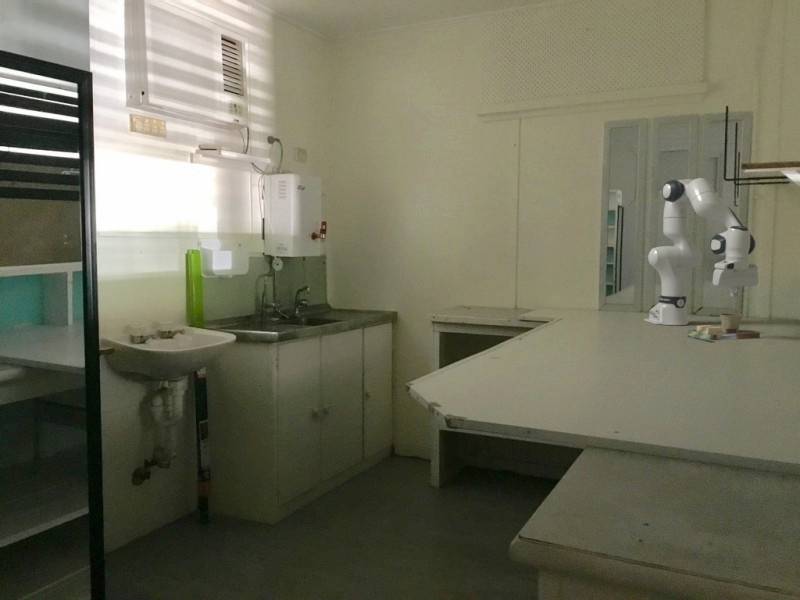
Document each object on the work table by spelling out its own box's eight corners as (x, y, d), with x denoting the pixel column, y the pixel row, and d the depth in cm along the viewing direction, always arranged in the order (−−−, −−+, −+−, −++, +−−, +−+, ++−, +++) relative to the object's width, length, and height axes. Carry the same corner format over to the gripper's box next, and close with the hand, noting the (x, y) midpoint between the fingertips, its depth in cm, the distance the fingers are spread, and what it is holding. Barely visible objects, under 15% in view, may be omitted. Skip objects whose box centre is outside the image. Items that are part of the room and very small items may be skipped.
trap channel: (687, 337, 271) (688, 330, 271) (734, 335, 276) (735, 328, 276) (710, 342, 258) (710, 335, 257) (759, 340, 263) (759, 333, 262)
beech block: (696, 336, 268) (696, 325, 267) (710, 335, 269) (710, 325, 269) (708, 338, 261) (708, 328, 260) (722, 337, 262) (722, 327, 262)
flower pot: (746, 335, 276) (747, 316, 275) (724, 335, 276) (725, 316, 275) (735, 332, 285) (736, 313, 284) (714, 332, 285) (715, 313, 284)
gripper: (751, 263, 270) (749, 294, 272) (711, 264, 266) (709, 296, 267) (763, 264, 264) (760, 296, 266) (721, 265, 260) (719, 298, 261)
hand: (734, 296), depth 267 cm, fingers closed
